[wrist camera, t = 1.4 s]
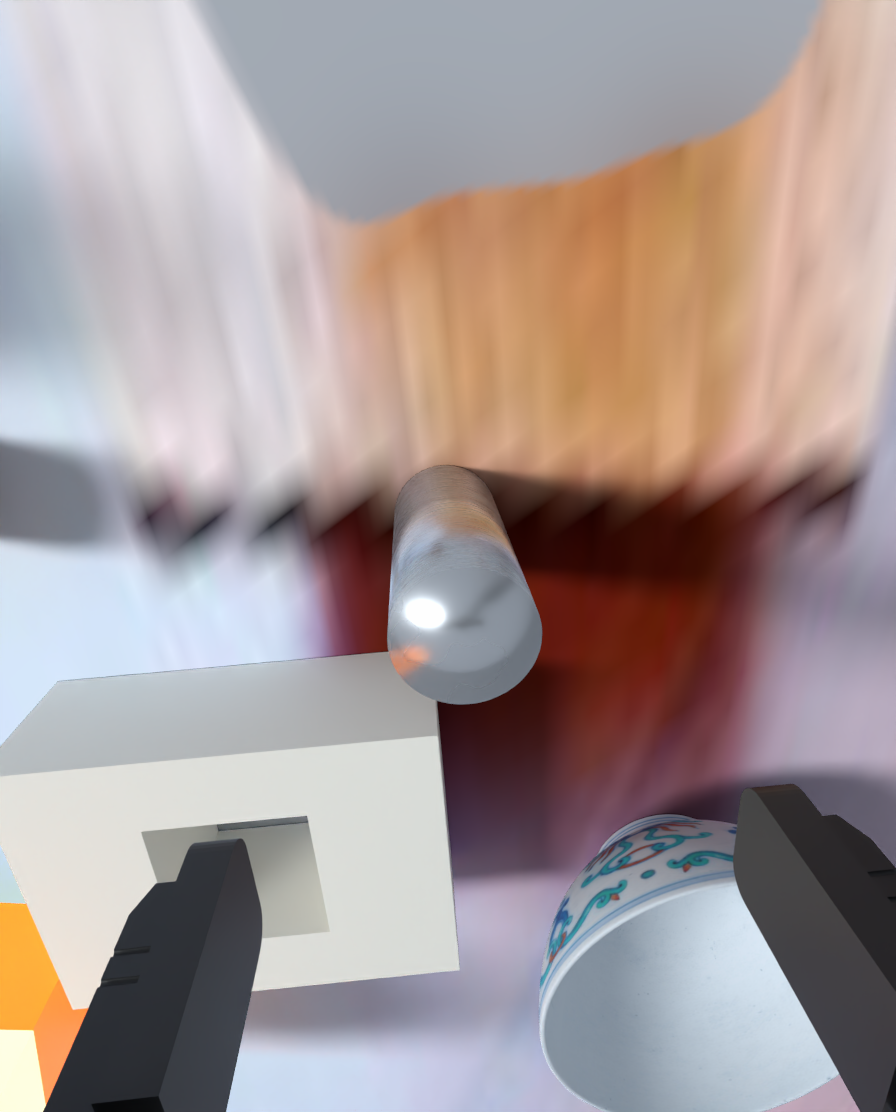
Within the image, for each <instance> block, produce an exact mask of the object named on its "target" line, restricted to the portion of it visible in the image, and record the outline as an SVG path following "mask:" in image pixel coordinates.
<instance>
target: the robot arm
mask: <svg viewBox="0 0 896 1112" xmlns="http://www.w3.org/2000/svg"><path fill="white" fill-rule="evenodd" d="M733 868H734V874H735V879H736V883H737V886H738V889H739V892H740V895H741V897H742V899H743V901H744V903H745V905H746V907H747V908H748V910H749V912H750V914H751V916H752V917H753V919H754V921H755V923H756V925H757V926H758V928H759V930H760V932H761V934H762V935H763V937H764V939H765V941H766V943H767V944H768V946H769V948H770V950H771V952H772V953H773V955H774V957H775V959H776V961H777V962H778V964H779V966H780V968H781V970H782V971H783V973H784V975H785V977H786V979H787V980H788V982H789V984H790V986H791V988H792V989H793V991H794V993H795V995H796V997H797V998H798V1000H799V1002H800V1004H801V1006H802V1007H803V1009H804V1011H805V1013H806V1015H807V1016H808V1018H809V1020H810V1022H811V1024H812V1025H813V1027H814V1029H815V1031H816V1033H817V1034H818V1036H819V1038H820V1040H821V1042H822V1043H823V1045H824V1047H825V1049H826V1051H827V1052H828V1054H829V1056H830V1058H831V1060H832V1061H833V1063H834V1065H835V1067H836V1069H837V1070H838V1072H839V1074H840V1076H841V1078H842V1079H843V1081H844V1083H845V1085H846V1087H847V1088H848V1090H849V1092H850V1094H851V1096H852V1097H853V1099H854V1101H855V1103H856V1105H857V1106H858V1108H859V1110H860V1112H896V868H895V867H894V866H893V864H892V863H891V862H890V861H889V860H888V859H887V857H886V856H885V855H884V854H883V853H882V851H881V850H880V849H879V848H878V847H877V846H876V844H875V843H874V842H873V841H872V840H871V839H870V838H869V837H867V836H866V835H865V834H863V833H862V832H860V831H859V830H857V829H856V828H855V827H853V826H852V825H850V824H849V823H847V822H846V821H845V820H843V819H842V818H840V817H839V816H837V815H829V816H822V815H821V814H820V812H819V811H818V810H817V809H816V807H815V806H814V805H813V804H812V802H811V801H810V800H809V799H808V797H807V796H806V795H805V793H804V792H803V791H802V790H801V789H800V788H799V787H798V786H796V785H794V784H785V785H775V786H765V787H756V788H747V789H745V790H744V791H743V792H742V794H741V799H740V806H739V814H738V822H737V830H736V838H735V846H734V854H733ZM261 943H262V910H261V904H260V900H259V896H258V892H257V888H256V884H255V879H254V875H253V871H252V867H251V863H250V859H249V855H248V851H247V847H246V844H245V842H244V840H243V839H242V838H238V839H228V840H218V841H208V842H199V843H193V844H192V845H191V846H190V847H189V849H188V851H187V853H186V856H185V859H184V861H183V864H182V866H181V869H180V872H179V874H178V877H177V880H176V881H174V882H164V883H156V884H155V885H154V886H153V887H152V888H151V890H150V891H149V892H148V893H147V894H146V895H145V897H144V898H143V899H142V900H141V901H140V902H139V904H138V905H137V906H136V907H135V908H134V909H133V911H132V912H131V913H130V914H129V916H128V918H127V921H126V923H125V925H124V927H123V930H122V932H121V934H120V937H119V939H118V941H117V943H116V946H115V948H114V955H113V957H110V960H109V962H108V964H107V966H106V969H105V971H104V973H103V976H102V978H101V985H100V987H97V989H96V992H95V994H94V996H93V999H92V1001H91V1003H90V1005H89V1008H88V1010H87V1012H86V1015H85V1017H84V1019H83V1021H82V1024H81V1026H80V1028H79V1031H78V1033H77V1035H76V1037H75V1040H74V1042H73V1044H72V1047H71V1049H70V1051H69V1054H68V1056H67V1058H66V1060H65V1063H64V1065H63V1067H62V1070H61V1072H60V1074H59V1076H58V1079H57V1081H56V1083H55V1086H54V1088H53V1090H52V1093H51V1095H50V1097H49V1099H48V1102H47V1104H46V1106H45V1108H44V1110H43V1112H226V1109H227V1104H228V1099H229V1095H230V1090H231V1085H232V1081H233V1076H234V1071H235V1067H236V1062H237V1057H238V1053H239V1048H240V1043H241V1039H242V1034H243V1029H244V1025H245V1020H246V1015H247V1011H248V1006H249V1001H250V997H251V992H252V987H253V983H254V978H255V973H256V969H257V964H258V959H259V955H260V949H261Z"/></svg>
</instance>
